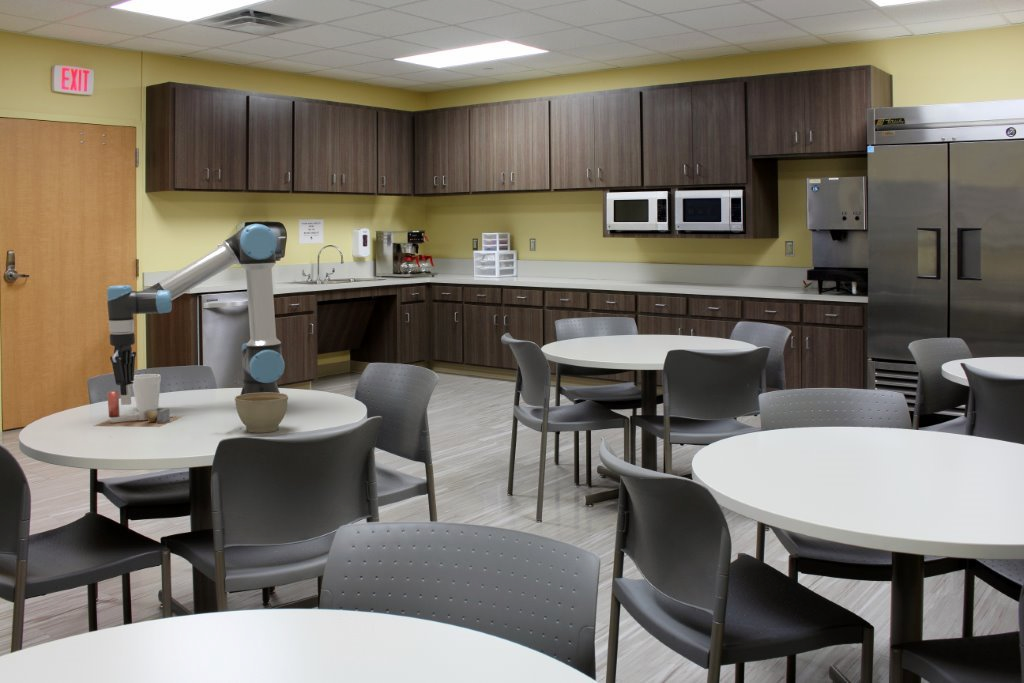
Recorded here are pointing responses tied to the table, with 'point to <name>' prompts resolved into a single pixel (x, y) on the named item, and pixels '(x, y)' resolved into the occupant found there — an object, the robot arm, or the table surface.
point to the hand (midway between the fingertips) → (126, 404)
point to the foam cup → (147, 391)
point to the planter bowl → (261, 410)
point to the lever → (114, 410)
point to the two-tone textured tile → (163, 416)
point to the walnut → (152, 416)
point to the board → (137, 422)
